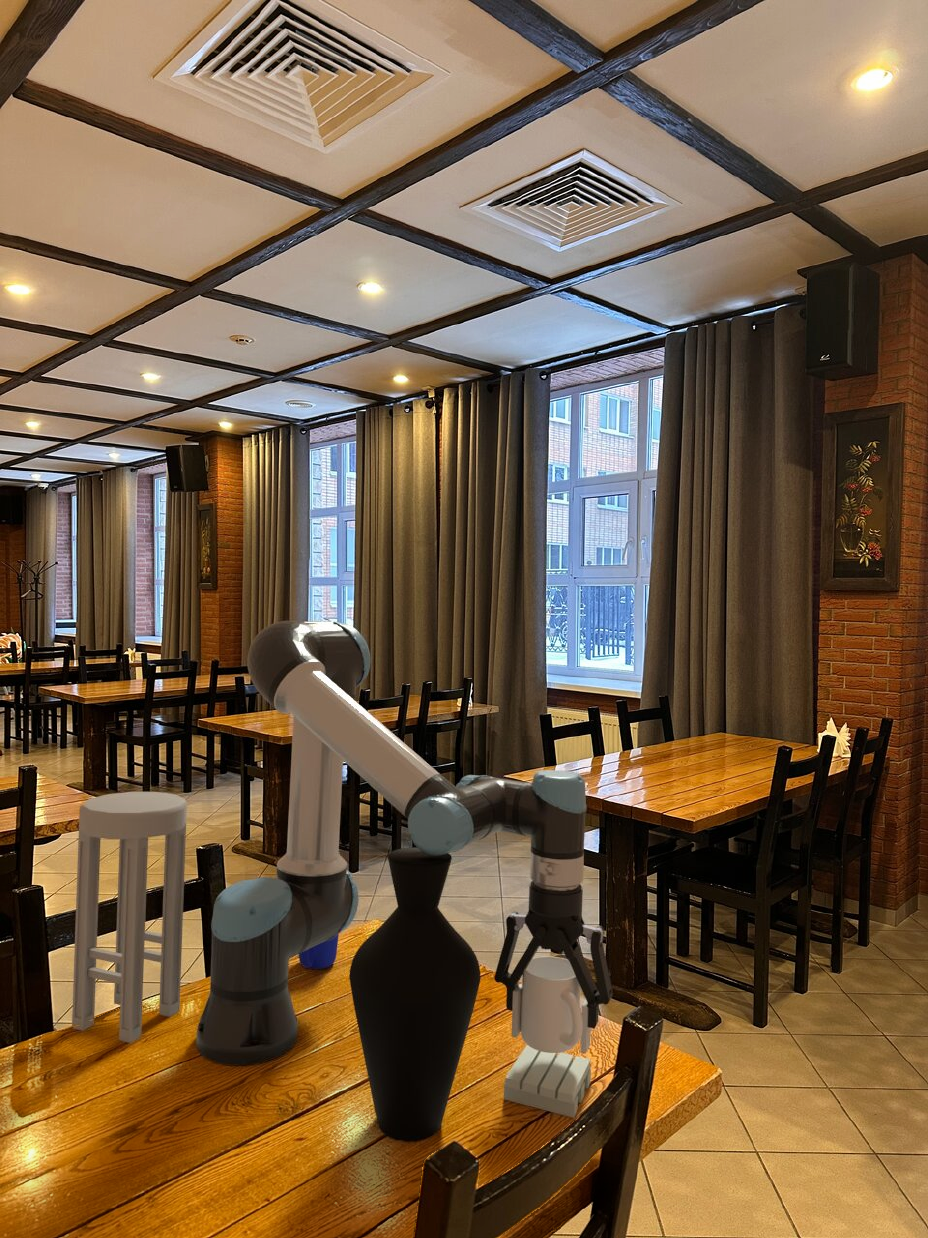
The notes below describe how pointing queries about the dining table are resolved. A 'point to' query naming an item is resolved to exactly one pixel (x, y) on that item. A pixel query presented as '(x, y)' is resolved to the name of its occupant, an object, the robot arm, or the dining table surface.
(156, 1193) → the dining table surface
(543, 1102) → the block
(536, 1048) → the mug
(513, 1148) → the dining table surface
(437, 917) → the vase
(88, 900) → the stool
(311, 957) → the mug
